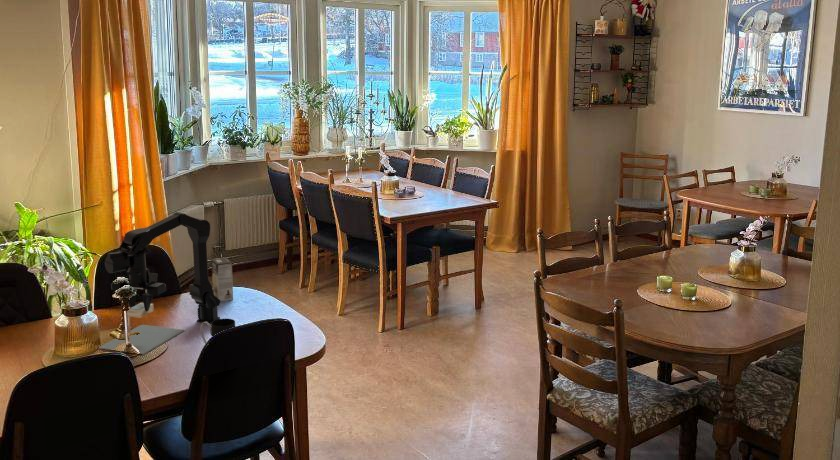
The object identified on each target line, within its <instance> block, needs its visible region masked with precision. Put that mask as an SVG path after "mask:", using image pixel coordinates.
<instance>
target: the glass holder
mask: <svg viewBox="0 0 840 460" xmlns="http://www.w3.org/2000/svg"><path fill="white" fill-rule="evenodd" d="M204 324H206V325H207V326H208V329H209V334H210V336H211V337H212V336H214V335H215V334H217V333H219V332H221V331H223V330H226V329H229V328H232V327H235V328H236V321H235V319H232V318H220V319H217V320H214V321H212V322H211V323H208V322H201V324H200V329H199V330H200V334H201V338H202V340H203V342H204V345H206V343H208V342H207V340H206V337H205V335H204V329H203V325H204Z"/></svg>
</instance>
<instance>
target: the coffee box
mask: <svg viewBox="0 0 840 460" xmlns="http://www.w3.org/2000/svg"><path fill="white" fill-rule="evenodd" d="M210 263H211V278H212V280H211V281H212V287H213V292H214V296H216V297H217V298H218V299H219V300H220V302H226V301H232V300H234V285H233V283H234V282H233V263H232V261H231V260H230V259H229V258H227V257H226V256H224V257H217V258H212V259H211V261H210Z"/></svg>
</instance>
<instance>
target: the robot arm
mask: <svg viewBox="0 0 840 460" xmlns="http://www.w3.org/2000/svg"><path fill="white" fill-rule="evenodd" d="M180 226H182V227H186V230H187V233H188V236H189V238H190V240H191V242H192V252H193V253H192V254H193V268H194V270H193V271H194V281H193V283H190V284H189V287H188V288H189V295H190V297H191V299H193V301H194V303H195V304H197V305H198V307H197V320H196V322H197V323H203V322H208V323H209V324H211V322H212V321H214V320H217V319H221V316H219V315H218V306H220V305H221V301H220V300H219V299H218V298H217V297H216V296H214V292H213V284H212V283H211V282H210V280H209V269H208V268H209V265H208V248H207V242H208V240H209V238H210V235H211V223H210V221H208V220H206V219H203V218H199V217H195V216H194V217H193V216H190V215H188V214H186V213H184V212H180V211H176V212H174V213H173V214H171V215H169V216H166V218H163V219H161V220H159V221H157V222H155V223H153V224H150V225H148V226H147V227H142V228H136V229H132V230H128V231H127V232H126V233H124V236H123V240H122V241H121V243H120V245H119V247H118V249H117V251H116V252H107V255H106V257H105V260H104V267H105V270H106V272H107V274H108V273H109V274H115V273H118V272H123V271H126V275H128V277H129V278H128V279H127V280H128V281H129V283H125V282H123V283H118V284H114V282H115V281H116V280H115V281H112V283H111V285H110V286H111V287H110V288H111V289H110V290H111V291H114V292H117V291H116V290H117V289H119V288H121V287H123V286H124V285H128V284H129V285H130V286H132V287H133V288H134V289H135V290H136V291H137V290H139V291H140V290H142V291H145V292H144V293H143V294H141V298H142V303H144V308H145V311H148V310H149V307H150V304H152V302H153V301H152V300H153V298H154V296H159V295H161V294H163V293H165V292H167V285H166V283H164V282H158V276H159V275H158V273H156V272H150V269H149V268H147V262H146V260H147V259H146V255H147V254H151V253H152V250H150V249H148V247H147V246H149V245H150V244H151V243H152V242H153V240H155V239H156V238H158V237H160V236H162V235H164V234H166V233H168V232H170V231H171V230H173V229H177V227H180ZM152 282H153V283H152ZM128 305H129V306H130V307H129V308H131V307H133V306H135V305H136V295H135V296H133V297H132V298H131V299H130V300H129V303H128Z"/></svg>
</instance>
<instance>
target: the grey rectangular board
mask: <svg viewBox="0 0 840 460" xmlns="http://www.w3.org/2000/svg"><path fill="white" fill-rule="evenodd" d="M130 331H131V332H140V334H138V335H136V334H135V335H131V336H130V342H131V343H132V344H133V345H134V346H135V347H136V348H137V349H138V350H139V352H140V354H142V355H141V356H145V355H146V354H149V351H150V352H152V351H153V350H155V349H156V347H157V348H158V347H161V346H162V345H163V344H165V343H166V342H168V341H170V340H172V339H173V338H176V337H177V336H178V335H181V334H182V333H184V332H185V329H179V328H171V327H165V326H156V325H150V324H149V325H147V324H140V325H138V326H136V327H135V328H133V329H131V330H130ZM116 338H117V337H115V338H114V339H112V340H110V341H107V342H106V343H104V344H102V345H100V346H98V347H99V348H100V349H99V350H102V349H105V351H110V350H111V349H115V348H116V346H118V343H119V344H121V343H125V340H118V339H116ZM154 348H155V349H154ZM151 350H152V351H151ZM144 354H145V355H144Z"/></svg>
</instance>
